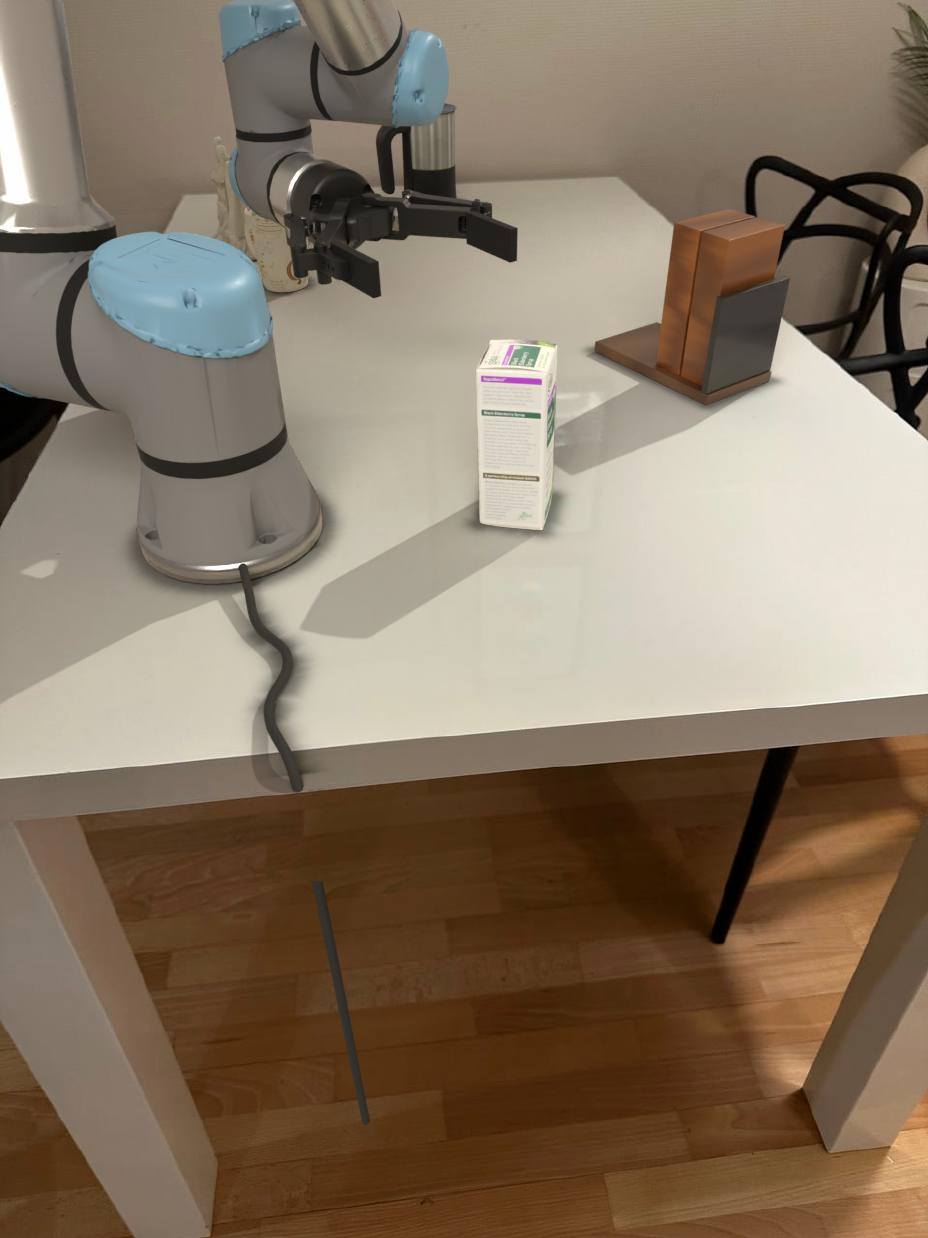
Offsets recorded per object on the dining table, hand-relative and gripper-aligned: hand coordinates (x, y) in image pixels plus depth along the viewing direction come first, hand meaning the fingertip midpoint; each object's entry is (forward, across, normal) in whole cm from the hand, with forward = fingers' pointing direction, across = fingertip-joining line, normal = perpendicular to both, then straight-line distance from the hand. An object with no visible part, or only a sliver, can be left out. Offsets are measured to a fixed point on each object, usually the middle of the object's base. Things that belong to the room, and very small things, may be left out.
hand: (447, 262), depth 73 cm
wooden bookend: (-4, -33, -19) cm, 39 cm away
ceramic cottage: (-75, -16, -20) cm, 79 cm away
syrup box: (+10, 0, -19) cm, 21 cm away
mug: (-57, -9, -19) cm, 61 cm away
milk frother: (-73, -46, -20) cm, 88 cm away
